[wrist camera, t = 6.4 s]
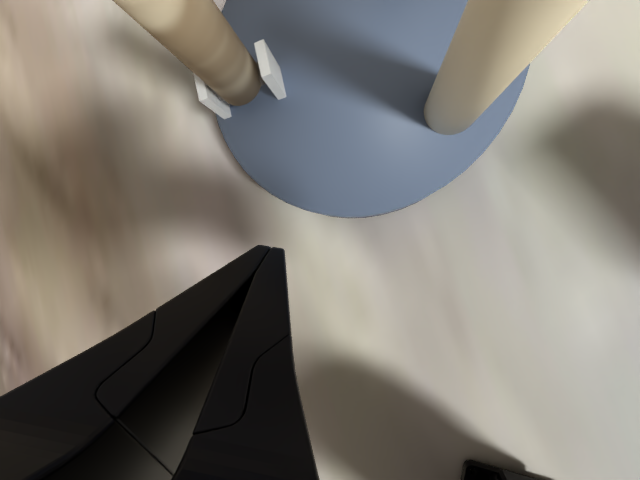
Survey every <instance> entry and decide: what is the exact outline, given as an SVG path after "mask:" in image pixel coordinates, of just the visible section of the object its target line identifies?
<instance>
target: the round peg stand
mask: <svg viewBox="0 0 640 480" xmlns="http://www.w3.org/2000/svg"><path fill="white" fill-rule="evenodd" d="M588 1H589V0H226V3H225V5H224V8H223V10H222V14H223V16H224V17H225V19H226V20H227V21H228V23H229V24H230V26H231V27H232V29H233V30H234V32H235V33H236V34H237V36H238V37H239V39H240V40H241V42H242V43H243V45H244V46H245V47H246V49H247V50H248V52H249V53H250V55H251V56H252V58H253V59H254V60H255V62H258V64H259V69H260V73H261V77H262V79H263V80H264V81H265V83H266V84H265V85H263V86H261V88H260V90H259V92H258V94H257V96H256V97H255V98H254V99H253V100H252V101H251V102H249V103H248V104H245V105H242V106H234V105H231V104H229V103H227V102H226V101H225V100H223V101H222V100H220V99H219V98H218V97H217V95H216V93H215V92H214V90H212V89H211V88H210V87H209V86H208V85H207V84H206V83H205V82H204V81H202V80H201V79H200V78H199V77H198V76H197V75H196V74H195V73H193V75H194V79H195V84H196V88H197V93H198V98H199V101H200V102H201V103H202V104H204V105H205V106H207V107H208V108H209V109H211V110H212V111H213V112H215V113H216V117H217V121H218V124H219V127H220V129H221V132H222V134H223V137H224V139H225V141H226V143H227V145H228V147H229V148H230V150H231V152H232V154H233V155H234V157H235V159H236V160H237V161H238V162H239V164H240V165H241V166H242V168H243V169H244V170H245V172H247V173H248V174H249V175H250V176H251V177H252V178H253V179H254V180H255V181H256V182H257V183H258V184H259V185H260V186H261V187H263V188H264V189H265V190H267V191H268V192H269V193H271V194H272V195H274V196H276V197H277V198H279V199H281V200H283V201H285V202H286V203H288V204H291V205H294V206H296V207H299V208H301V209H304V210H307V211H311V212H315V213H319V214H323V215H327V216H332V217H341V218H366V217H372V216H378V215H383V214H387V213H390V212H394V211H397V210H400V209H403V208H405V207H407V206H410V205H412V204H414V203H416V202H418V201H420V200H422V199H423V198H425V197H427V196H429V195H430V194H432V193H434V192H435V191H437V190H439V189H440V188H442V187H444V186H445V185H447V184H448V183H450V182H451V181H452V180H453V179H455V178H456V177H457V176H459V175H460V174H461V173H463V172H464V171H465V170H466V169H467V168H468V167H469V166H470V165H471V164H472V163H473V162H474V161H475V160H476V159H477V158H478V157H479V156H481V155H482V154H483V152H484V151H485V150H486V149H487V147H488V146H489V145H490V144H491V142H492V141H493V140H494V139H495V137H496V136H497V135H498V134H499V132H500V130H501V129H502V127H503V126H504V124H505V122H506V121H507V119H508V117H509V116H510V114H511V113H512V111H513V108H514V106H515V104H516V102H517V100H518V97H519V95H520V93H521V91H522V89H523V85H524V82H525V79H526V75H527V72H528V69H529V66H530V63H531V61H532V60H533V59H534V58H535V57H536V56H537V55H538V54H539V53H540V52H541V51H542V50H543V49H544V48H545V47H546V46H547V45H548V44H549V42H550V41H551V40H552V39H553V38H554V37H555V36H556V35H557V34H558V33H559V32H560V31H561V30H562V29H563V28H564V27H565V26H566V25H567V24H568V22H569V21H570V20H571V19H572V18H573V17H574V16H575V15H576V14H577V13H578V12H579V11H580V10H581V9H582V8H583V7H584V6H585V5H586V3H587V2H588Z"/></svg>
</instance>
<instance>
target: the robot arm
mask: <svg viewBox="0 0 640 480" xmlns="http://www.w3.org/2000/svg"><path fill="white" fill-rule="evenodd" d="M470 469H474V470H470ZM0 480H319V476H318V472H317V468H316V463H315V459H314V455H313V450H312V446H311V441H310V437H309V433H308V428H307V424H306V419H305V415H304V411H303V406H302V402H301V397H300V393H299V387H298V382H297V377H296V372H295V364H294V356H293V346H292V337H291V323H290V311H289V299H288V287H287V274H286V262H285V251H284V249H282V248H276V247H272V248H271V247H269V246H264V245H257V246H255V247H254V248H252V249H251V250H249V251H248V252H246V253H244V254H243V255H241V256H240V257H238V258H236V259H235V260H233V261H232V262H230V263H228V264H227V265H225V266H224V267H222V268H220V269H219V270H217V271H216V272H214V273H213V274H211V275H209V276H208V277H206V278H205V279H203V280H201V281H200V282H198V283H197V284H195V285H193V286H192V287H190V288H189V289H187V290H185V291H184V292H182V293H181V294H179V295H178V296H176V297H174V298H173V299H171V300H170V301H168V302H166V303H165V304H163V305H162V306H160V307H158V308H157V309H156V311H152V312H150V313H149V314H147V315H145V316H144V317H142V318H141V319H139V320H138V321H136V322H134V323H133V324H131V325H129V326H128V327H126V328H124V329H123V330H121V331H119V332H118V333H116V334H114V335H113V336H111V337H109V338H107V339H105V340H104V341H102V342H100V343H98V344H96V345H95V346H93V347H91V348H89V349H88V350H86V351H84V352H82V353H80V354H78V355H77V356H75V357H73V358H71V359H69V360H67V361H65V362H64V363H62V364H60V365H58V366H56V367H54V368H52V369H51V370H49V371H47V372H45V373H43V374H41V375H39V376H38V377H36V378H34V379H32V380H30V381H28V382H26V383H25V384H23V385H21V386H19V387H17V388H15V389H14V390H12V391H10V392H8V393H6V394H4V395H2V396H0ZM461 480H538V479H534V478H531V477H527V476H524V475H520V474H517V473H514V472H510V471H507V470H503V469H500V468H497V467H493V466H490V465H486V464H483V463H479V462H476V461H473V460H467V461H466V462H465V463H464V465H463V471H462V476H461Z"/></svg>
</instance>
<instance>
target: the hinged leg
mask: <svg viewBox="0 0 640 480" xmlns="http://www.w3.org/2000/svg"><path fill="white" fill-rule="evenodd" d="M113 1H114V2H115V3H116V4H117V5H118V6H120V7H121V8H122V9H123V10H124V11H125V12H126V13H127V14H129V15H130V16H131V17H132V18H133V19H134V20H135V21H136V22H137V23H139V24H140V25H141V26H142V27H143V28H144V29H145V30H146V31H148V32H149V33H150V34H151V35H152V36H153V37H154V38H155V39H156V40H158V41H159V42H160V43H161V44H162V45H163V46H164V47H165V48H167V49H168V50H169V51H170V52H171V53H172V54H173V55H174V56H176V57H177V58H178V59H179V60H180V61H181V62H182V63H183V64H184V65H186V66H187V67H188V68H189V69H190V70H191V71H192V72H193V73H195V74H196V75H197V76H198V77H199V78H200V79H201V80H202V81H204V82H205V83H206V84H207V85H208V86H209V87H210V88H211V89H212V90H214V92H215V93H216V95H217V97H218V98H219V99H220V100H222V101H223V100H225V101H226V102H227V103H229V104H231V105H234V106H242V105H245V104H248V103H249V102H251V101H252V100H253V99H254V98H255V97H256V96H257V94H258V92H259V90H260V88H261V86H263V85H265V84H266V83H265V81H264V80H263V79H262V77H261V73H260V69H259V64H258V62H255V60H254V59H253V58H252V56H251V55H250V53H249V52H248V50H247V49H246V47H245V46H244V45H243V43H242V42H241V40H240V39H239V37H238V36H237V34H236V33H235V32H234V30H233V29H232V27H231V26H230V24H229V23H228V21H227V20H226V19H225V17H224V16H223V14H222V13H221V11H220V10H219V8H218V7H217V5H216V4H215V3H214V1H213V0H113Z"/></svg>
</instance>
